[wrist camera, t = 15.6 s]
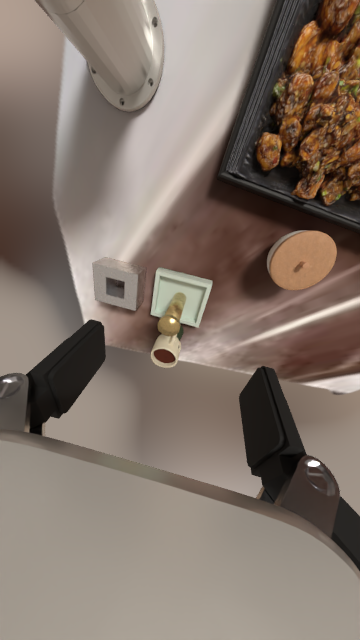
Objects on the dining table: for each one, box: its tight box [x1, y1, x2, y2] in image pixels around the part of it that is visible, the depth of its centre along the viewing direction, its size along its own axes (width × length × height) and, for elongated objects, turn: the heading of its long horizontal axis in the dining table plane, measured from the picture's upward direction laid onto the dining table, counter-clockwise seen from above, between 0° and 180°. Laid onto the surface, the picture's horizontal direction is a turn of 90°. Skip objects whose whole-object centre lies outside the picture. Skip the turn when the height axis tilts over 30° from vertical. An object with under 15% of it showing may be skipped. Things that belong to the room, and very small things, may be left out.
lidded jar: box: [267, 230, 337, 290], centre depth 35 cm, size 11×11×9 cm
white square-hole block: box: [92, 257, 146, 311], centre depth 46 cm, size 10×11×6 cm
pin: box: [158, 292, 186, 336], centre depth 42 cm, size 5×5×14 cm
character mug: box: [150, 325, 183, 368], centre depth 49 cm, size 11×7×13 cm, turn 154°
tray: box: [151, 267, 212, 327], centre depth 47 cm, size 13×14×3 cm
